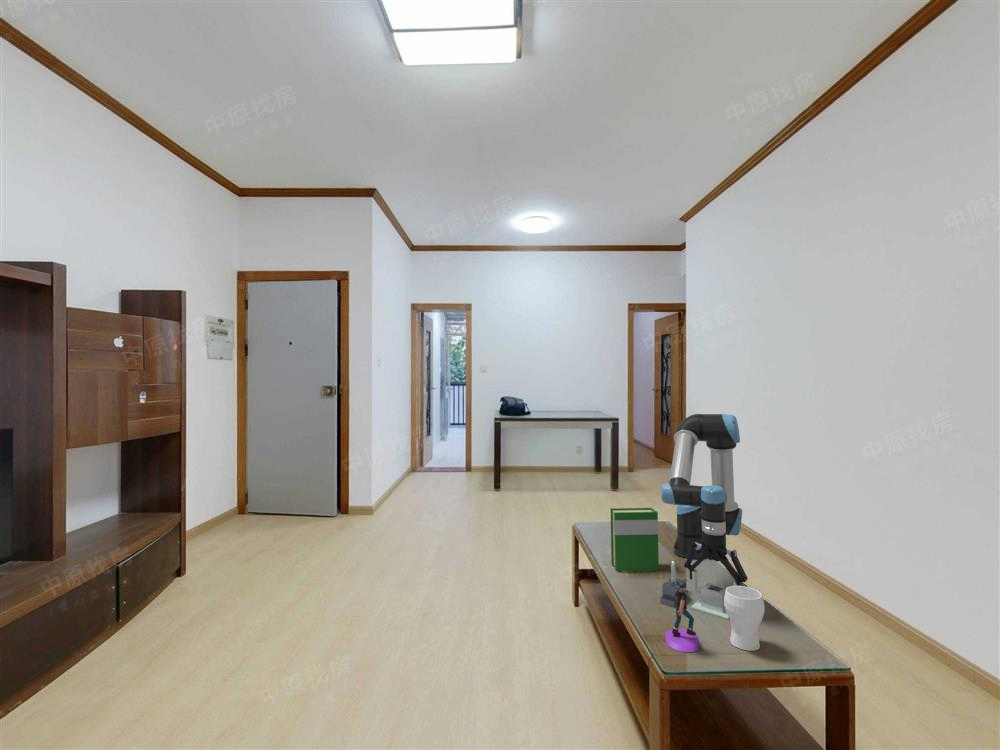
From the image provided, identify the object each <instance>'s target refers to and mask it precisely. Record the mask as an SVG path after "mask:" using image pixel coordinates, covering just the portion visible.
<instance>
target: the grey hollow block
mask: <svg viewBox="0 0 1000 750" xmlns="http://www.w3.org/2000/svg"><path fill="white" fill-rule="evenodd" d="M726 588H728V587H726V586H722V585H720V584H715V583H711V582H707V583H706V584H705V585H703V586H702V587H701V588H700V599H701V607H704V608H707V609H711V610H714V611H717V612H721V613H723V612H724V611H725V610H726V609H725V606H724V595H725V591H726Z"/></svg>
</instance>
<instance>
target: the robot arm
mask: <svg viewBox="0 0 1000 750" xmlns="http://www.w3.org/2000/svg"><path fill="white" fill-rule="evenodd" d="M673 441H674V448H673V456H672V463H671V468H670V474H669V480H668V481H669V482H665V483H663V484H662V486H661V489H660V490H661V492H660V493H661V501H662V502H663V503H664V504H669V505H673V506H675V505H676V514H675V515H676V531H677V532H676V533H677V534H676V538H675V541H674V544H673V549H672V550H673V551H672V552H673V553H674V555H676V554H677V555H676V556H678V555H679V556H678V557H681V556H682V557H681V558H684V557H685V559H686V560H685V563H684V564H683V567H684V568H687V569H688V571H689V579H690V580H691V584H692V591H693V592H695V591H697V590H698V589H699V588H698V583H699V582H698V581H699V580H698V578H699V577H698V569H696V568H697V567H698V566H699V565H700V564H701V563H702V562H703V561H705V560H706V559H708V560H710V561H715V562H720V563H721V564H722V565H723V566H724V567H725V569H726V570H727V572H728V573H729V574H730V576H731V577H732V578H733V580H734V581H733V585H732V586H742V585H743V584H742V583H746V582H747V581H748V579H749V578H748V576H747V574H746V572H745V569H744V568H743V566H742V564H741V561H740V559H739V558H738V554H737V550H736V549H732V550H730V549H729V550H728V548H727V536H739V535H740V533H741V527H742V517H743V509H742V508H740V507H739V503H737V501H735V483H734V482H735V481H734V460H733V459H734V454H733V450H734V449H736V448H737V444H739V443H741V435H740V429H739V424H738V419H737V418H736V416H735V415H733V414H725V413H720V414H719V413H716V414H715V413H694V414H691V415H688V416H687V417H685V418H683V419H682V420H681V421H680V423H679V424H677V426H676V428H675V430H674V434H673ZM698 442H705V443H706V447H707V448H708V449H709V450H710V471H711V485H693V484H691V483H692V481H691V480H692V471H693V464H694V463H693V462H694V457H695V456H694V454H695V447H696V445H697V444H698ZM727 555H728V557H729V558H730V559H728V557H727ZM693 560H696V561H695V562H693ZM729 560H731V562H732V563H731V562H730V561H729ZM692 562H693V564H692ZM732 564H733V565H732Z"/></svg>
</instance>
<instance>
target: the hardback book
mask: <svg viewBox="0 0 1000 750" xmlns="http://www.w3.org/2000/svg"><path fill="white" fill-rule="evenodd" d="M658 517H659V514H658V511H657V510H655V509H654V508H653V507H617V508H616V507H614V508H613V507H612V508H610V550H611V551H610V552H611V553H610V555H611V564H612V565H614V566H613V567H614V571H647V572H659V571H660V568H659V567H660V566H659V565H660V561H659V560H660V559H659V520H658V519H659V518H658ZM612 565H611V566H612Z"/></svg>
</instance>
